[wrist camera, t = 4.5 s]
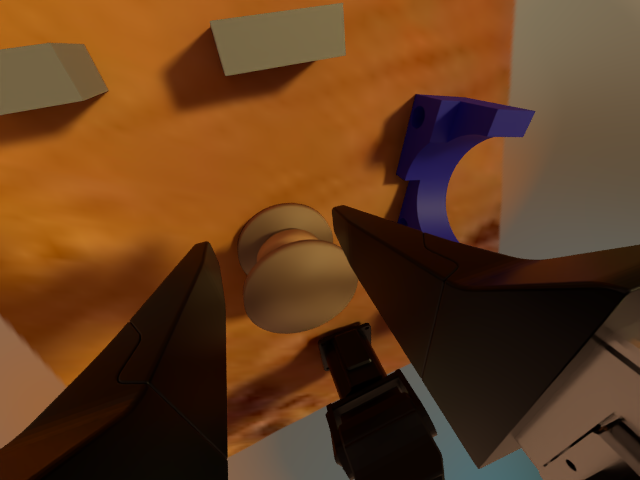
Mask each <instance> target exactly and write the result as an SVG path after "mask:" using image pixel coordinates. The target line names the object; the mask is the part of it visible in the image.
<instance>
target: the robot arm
mask: <svg viewBox="0 0 640 480" xmlns="http://www.w3.org/2000/svg"><path fill="white" fill-rule="evenodd" d="M332 217H333V227H334V232H335V234H336V236H337V239H338V241H339V243H340V245H341V247H342V249H343V252H344V254H345V256H346V258H347V260H348V262H349V264H350V266H351V268H352V270H353V271H354V273H355V275H356V276H357V278H358V279H359V281H360V282H361V284H362V286H363V287H364V289H365V290H366V292H367V294H368V295H369V297H370V298H371V300H372V301H373V303H374V305H375V306H376V308H377V309H378V311H379V313H380V314H381V316H382V317H383V319H384V320H385V322H386V324H387V325H388V327H389V328H390V330H391V332H392V333H393V335H394V336H395V338H396V340H397V341H398V343H399V344H400V346H401V347H402V349H403V351H404V352H405V354H406V355H407V357H408V359H409V360H410V362H411V363H412V365H413V366H414V368H415V370H416V371H417V373H418V374H419V376H420V377H421V378H422V381H423V383H424V384H425V386H426V387H427V389H428V391H429V392H430V394H431V395H432V397H433V398H434V400H435V402H436V403H437V405H438V406H439V408H440V410H441V411H442V413H443V414H444V416H445V417H446V419H447V421H448V422H449V424H450V425H451V427H452V429H453V430H454V432H455V433H456V435H457V437H458V438H459V440H460V441H461V443H462V444H463V446H464V448H465V449H466V451H467V452H468V454H469V455H470V457H471V459H472V460H473V462H474V463H475V465H476V466H477V467H478V469H480V468H482V467H484V466H486V465H488V464H490V463H492V462H494V461H496V460H498V459H500V458H502V457H504V456H506V455H508V454H510V453H512V452H514V451H516V450H518V449H520V448H522V449H523V451H524V452H525V453H526V455H527V456H528V457H529V458H530V460H531V461H532V462H533V464H534V465H535V466H536V468H537V469H538V470H539V473H540V475H541V477H542V479H543V480H640V245H634V246H628V247H621V248H615V249H609V250H602V251H596V252H590V253H584V254H577V255H571V256H565V257H559V258H552V259H545V260H529V259H520V258H516V257H511V256H507V255H504V254H500V253H496V252H492V251H488V250H484V249H480V248H477V247H473V246H469V245H465V244H461V243H458V242H454V241H450V240H447V239H444V238H441V237H438V236H435V235H432V234H429V233H426V232H424V233H423V232H422V231H420V230H417V229H414V228H411V227H408V226H405V225H402V224H399V223H396V222H393V221H390V220H387V219H384V218H381V217H378V216H375V215H372V214H369V213H366V212H363V211H360V210H357V209H354V208H351V207H348V206H345V205H341V206H337V207H334V208H333V209H332ZM318 345H319V349H320V354H321V358H322V363H323V367H324V370H325V371H328V370H330V372H331V375H332V378H333V381H334V383H335V386H336V389H337V392H338V394H339V397H340V400H339V401H337V402H335V403H333V404H329V405H327V406H326V407H327V411H328V412H327V413H326V418H327V421H328V424H329V428H330V432H331V438H332V445H333V451H334V457H335V461H336V463H337V464H339V465H340V466H342V467H343V469H344V471H345V472H346V474H347V476H348V477H349V479H350V480H353V479H355V480H445V478H444V468H443V458H442V454H441V452H440V450H439V448H438V447H437V445H436V443H435V441H434V439H433V437H434V436H436V435H437V432H436V429H435V427H434V425H433V423H432V421H431V419H430V417H429V415H428V413H427V411H426V410H425V408H424V406H423V405H422V403H421V401H420V400H419V398H418V397H417V395H416V394H415V392H414V390H413V389H412V387H411V386H410V384H409V383H408V381H407V380H406V378H405V376H404V375H403V373H402V372H401V370H400V369H397V370H396V371H395V372H394V373H392V374H390V375H388V376H387V374H386V372H385V371H384V369H383V367H382V365H381V363H380V361H379V359H378V357H377V355H376V354H375V352H374V350H373V348H372V346H371V326H370V324H369V323H364V324H362V325H359V326H356V327H353V328H351V329H348V330H345V331H342V332H340V333H337V334H334V335H331V336H329V337H326V338H323V339H321V340H319V342H318ZM227 457H228V455H227V380H226V309H225V299H224V292H223V286H222V279H221V273H220V266H219V263H218V260H217V258H216V255H215V253H214V251H213V249H212V247H211V245H210V243H209V242H207V241H206V242H202V243H198V244H195V245H194V246H193V247H192V249H191V250H190V251H189V252H188V253H187V254H186V256H185V257H184V258H183V259H182V260H181V261H180V263H179V264H178V265H177V266H176V267H175V268H174V269H173V271H172V272H171V273H170V274H169V275H168V276H167V278H166V279H165V280H164V281H163V282H162V283H161V285H160V286H159V287H158V288H157V289H156V290H155V292H154V293H153V294H152V295H151V296H150V297H149V298H148V300H147V301H146V302H145V303H144V304H143V305H142V307H141V308H140V309H139V310H138V311H137V312H136V314H135V315H134V316H133V317H132V318H131V319H130V322H128V323H127V324H126V325H125V326H124V327H123V329H122V330H121V331H120V332H119V333H118V334H117V335H116V337H115V338H114V339H113V340H112V341H111V342H110V343H109V344H108V345H107V347H106V348H105V349H104V350H103V351H102V352H101V353H100V354H99V355H98V356H97V357H96V358H95V359H94V360H93V361H92V362H91V363H90V364H89V366H88V367H87V368H86V369H85V370H84V371H83V372H82V373H81V374H80V375H79V376H78V377H77V378H76V379H75V380H74V381H73V382H72V383H71V384H70V385H69V386H68V387H67V388H66V389H65V390H64V391H63V392H62V393H61V394H60V395H59V396H58V397H57V398H56V399H55V400H54V401H53V402H52V403H51V404H50V405H49V406H48V407H47V408H46V409H45V410H44V411H43V412H42V413H41V414H40V415H39V416H38V417H37V418H36V419H35V420H34V421H33V422H32V423H31V424H30V425H29V426H28V427H27V428H26V429H25V430H24V431H23V432H22V433H20V434H19V435H18V436H17V437H16V438H15V439H13V440H12V441H11V442H9V443H8V444H7V445H5V446H4V447H3V448H1V449H0V480H228V461H227Z"/></svg>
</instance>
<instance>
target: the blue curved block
mask: <svg viewBox="0 0 640 480" xmlns="http://www.w3.org/2000/svg"><path fill="white" fill-rule="evenodd" d="M534 113H535V111H532V110H527V109H522V108H516V107H511V106H506V105H501V104H496V103H491V102H485V101H480V100H475V99H470V98H464V97H449V96H434V95H419V94H416V95H415V99H414V103H413V107H412V111H411V115H410V119H409V123H408V127H407V132H406V136H405V140H404V144H403V148H402V152H401V156H400V160H399V164H398V168H397V172H396V175H397V176H399V177H400V178H402V179H403V180H405V181H408V180H409V183H408V187H407V190H406V194H405V197H404V201H403V205H402V208H401V212H400V215H399V219H398V223H399V224H402V225H405V226H408V227H411V228H414V229H417V230H420V231H422V232H423V233H424V232H426V233H429V234H432V235H435V236H438V237H441V238H444V239H447V240H450V241H454V242H458V240H457V239H456V237H455V236H454V234H453V232H452V230H451V228H450V225H449V222H448V218H447V213H446V192H447V186H448V183H449V180H450V177H451V175H452V172H453V170H454V168H455V167H456V165H457V164H458V162H459V161H460V159H461V158H462V157H463V156H464V155H465V154H466V153H467V152H468V151H469V150H470V149H471V148H472V147H474V146H475V145H477V144H478V143H480V142H482V141H484V140H486V139H489V138H492V137H523V136H524V134H525V132H526V130H527V128H528V126H529V124H530V122H531V119H532V117H533V115H534ZM458 243H459V242H458Z"/></svg>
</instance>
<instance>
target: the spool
mask: <svg viewBox="0 0 640 480" xmlns="http://www.w3.org/2000/svg"><path fill="white" fill-rule="evenodd" d="M238 256H239V262H240V265H241V267H242V269H243V270H244V272H245V273H246V274H247V278H246V280H245V283H244V287H243V298H244V306H245V310H246V313H247V315H248V317H249V318H250V319H251V321H252V322H253V323H254V324H256V325H257V326H259V327H260V328H262V329H264V330H267V331H270V332H275V333H297V332H303V331H307V330H310V329H313V328H315V327H318V326H320V325H322V324H324V323H326V322H328V321H329V320H331V319H332V318H334V317H335V316H336V315H338V314H339V313H340V312H341V311H342V310H343V309H344V308H345V307H346V306H347V304H348V303H349V302H350V300H351V299H352V297H353V295H354V293H355V290H356V288H357V283H358V278H357V276H356V275H355V273H354V271H353V270H352V268H351V266H350V264H349V262H348V260H347V258H346V256H345V254H344V252H343V249H342V248H341V247H339V246H337V245H336V244H333V236H332V232H331V229H330V227H329V225H328V223H327V222H326V220H325V219H324V218H323V216H322V215H321V214H320V213H319V212H317V211H316V210H314V209H313V208H311V207H308V206H306V205H302V204H297V203H283V204H278V205H274V206H271V207H268V208H266V209H264V210H262V211H261V212H259V213H257V214H256V215H255V216H253V217H252V218H251V219H250V220H249V221H248V222H247V224H246V225H245V226H244V228H243V230H242V231H241V234H240V236H239V240H238Z"/></svg>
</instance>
